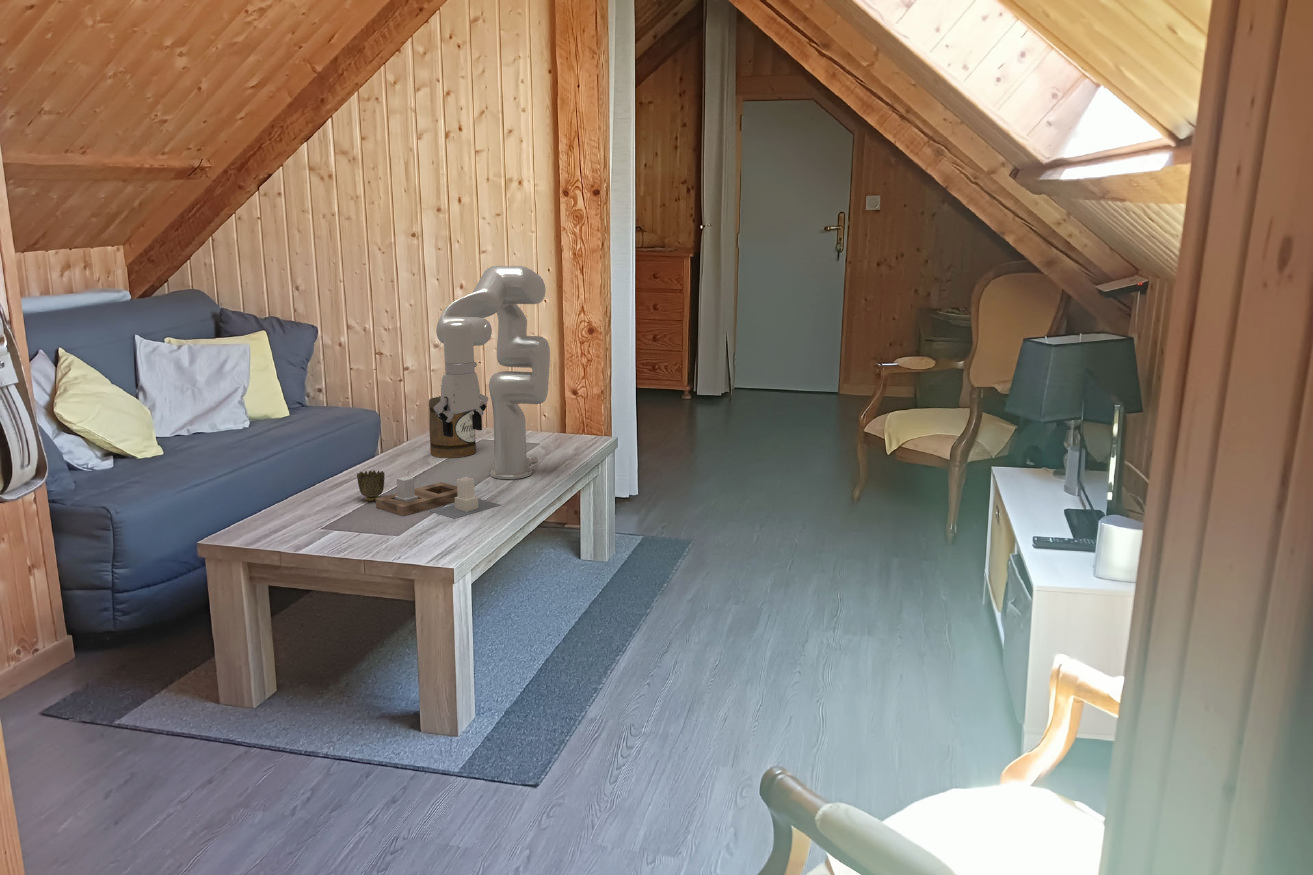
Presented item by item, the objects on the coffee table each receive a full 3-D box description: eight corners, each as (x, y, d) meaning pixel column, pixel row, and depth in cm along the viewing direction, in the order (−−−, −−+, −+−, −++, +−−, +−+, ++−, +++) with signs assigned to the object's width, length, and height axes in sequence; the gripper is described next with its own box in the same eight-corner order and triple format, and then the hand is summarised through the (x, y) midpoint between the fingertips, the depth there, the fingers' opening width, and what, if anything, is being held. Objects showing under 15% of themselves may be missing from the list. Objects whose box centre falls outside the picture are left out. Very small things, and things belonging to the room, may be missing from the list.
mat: (476, 500, 275) (476, 498, 275) (501, 506, 269) (501, 504, 268) (430, 513, 263) (430, 511, 263) (454, 520, 257) (454, 518, 256)
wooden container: (471, 458, 322) (468, 391, 317) (425, 458, 323) (422, 391, 318) (480, 447, 337) (477, 384, 332) (436, 447, 337) (433, 383, 332)
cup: (385, 504, 271) (383, 475, 269) (357, 505, 270) (355, 477, 268) (387, 496, 278) (385, 469, 276) (359, 498, 277) (357, 470, 275)
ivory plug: (466, 504, 268) (465, 476, 266) (478, 508, 265) (477, 479, 264) (454, 508, 265) (453, 479, 263) (466, 511, 262) (465, 482, 261)
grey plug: (407, 503, 269) (405, 475, 268) (418, 507, 266) (416, 478, 265) (395, 507, 266) (393, 478, 265) (406, 510, 263) (404, 481, 262)
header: (441, 492, 283) (441, 482, 282) (469, 499, 275) (468, 489, 275) (376, 509, 266) (375, 498, 266) (403, 517, 259) (403, 506, 258)
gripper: (476, 363, 266) (479, 425, 270) (423, 371, 253) (427, 436, 257) (494, 366, 261) (497, 429, 265) (442, 374, 249) (446, 441, 253)
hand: (463, 432), depth 261 cm, fingers open, 9 cm apart
